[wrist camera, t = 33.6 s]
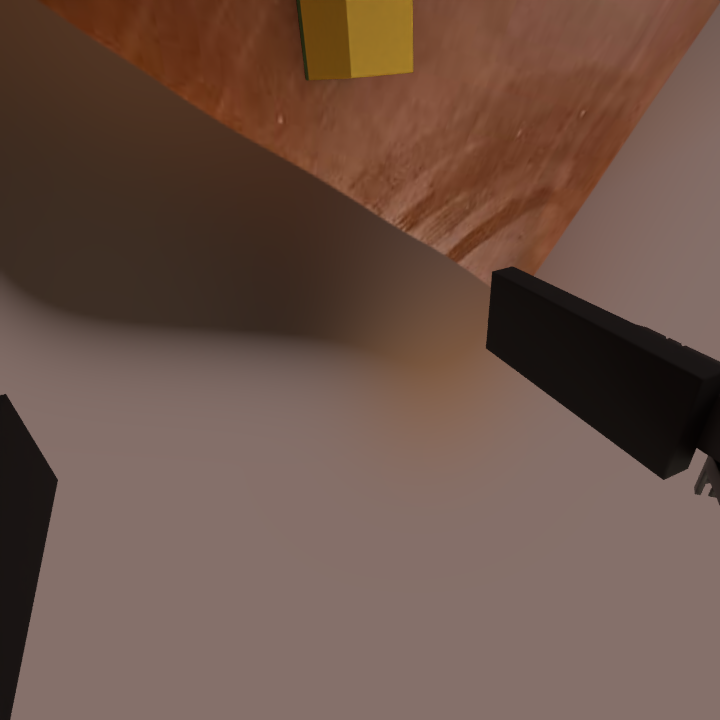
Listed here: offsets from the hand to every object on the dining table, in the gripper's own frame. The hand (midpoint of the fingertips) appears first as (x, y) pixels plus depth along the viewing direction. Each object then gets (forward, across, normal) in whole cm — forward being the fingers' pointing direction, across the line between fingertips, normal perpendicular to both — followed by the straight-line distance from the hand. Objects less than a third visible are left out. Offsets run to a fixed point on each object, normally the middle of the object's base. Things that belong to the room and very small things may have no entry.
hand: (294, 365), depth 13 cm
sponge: (+27, +11, +9) cm, 31 cm away
